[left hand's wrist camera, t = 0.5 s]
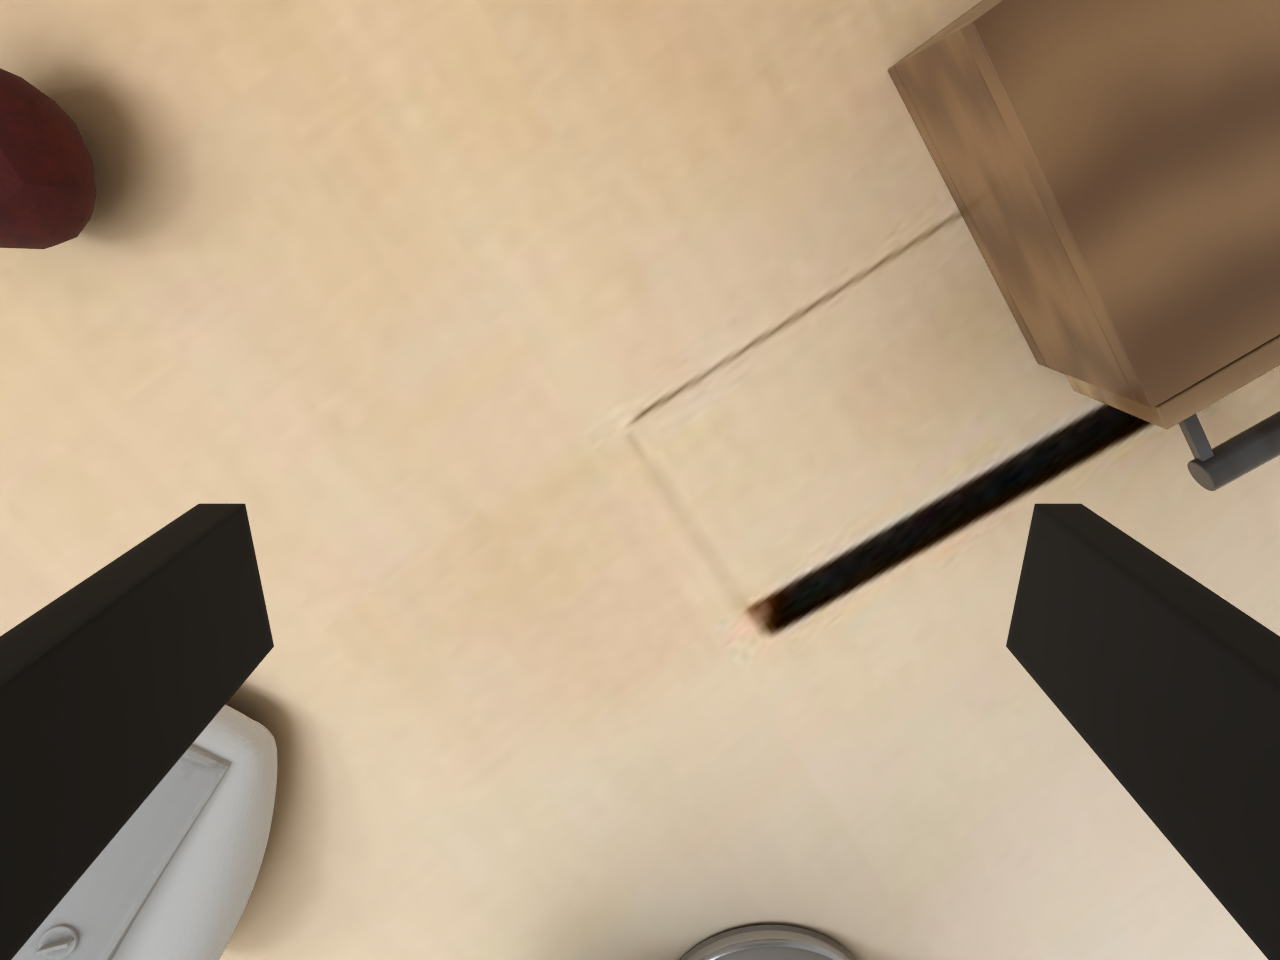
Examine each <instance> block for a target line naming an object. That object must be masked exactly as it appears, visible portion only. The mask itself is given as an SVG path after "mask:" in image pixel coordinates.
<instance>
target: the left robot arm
mask: <svg viewBox="0 0 1280 960" xmlns="http://www.w3.org/2000/svg"><path fill="white" fill-rule="evenodd" d="M273 647H274V645H273V640H272V635H271V630H270V625H269V620H268V615H267V610H266V605H265V600H264V595H263V590H262V585H261V580H260V575H259V570H258V565H257V560H256V556H255V551H254V546H253V541H252V536H251V531H250V526H249V521H248V516H247V511H246V506H245V504H198V505H196V506H195V507H193V508H192V509H190V510H189V511H187V512H186V513H184V514H183V515H181V516H180V517H178V518H177V519H175V520H174V521H172V522H171V523H169V524H168V525H166V526H165V527H163V528H162V529H161V530H159V531H158V532H156V533H155V534H153V535H152V536H150V537H149V538H147V539H146V540H144V541H143V542H141V543H140V544H138V545H137V546H135V547H134V548H132V549H131V550H129V551H128V552H126V553H125V554H123V555H122V556H120V557H119V558H117V559H116V560H114V561H113V562H111V563H110V564H108V565H107V566H105V567H104V568H102V569H101V570H99V571H98V572H96V573H95V574H93V575H92V576H90V577H89V578H87V579H86V580H84V581H83V582H81V583H80V584H78V585H77V586H75V587H74V588H72V589H71V590H69V591H68V592H66V593H65V594H63V595H62V596H60V597H59V598H57V599H56V600H54V601H53V602H51V603H50V604H48V605H47V606H45V607H44V608H42V609H41V610H39V611H38V612H36V613H35V614H33V615H32V616H30V617H29V618H27V619H26V620H24V621H23V622H21V623H20V624H18V625H17V626H15V627H14V628H12V629H11V630H9V631H8V632H6V633H5V634H3V635H2V636H0V960H12V959H13V957H14V956H15V955H16V954H17V953H18V951H19V950H20V949H21V948H22V947H23V945H24V944H25V943H26V942H27V941H28V939H29V938H30V937H31V936H32V935H33V933H34V932H35V931H36V930H37V929H38V927H39V926H40V925H41V924H42V923H43V921H44V920H45V919H46V918H47V917H48V915H49V914H50V913H51V912H52V911H53V910H54V908H55V907H56V906H57V905H58V904H59V902H60V901H61V900H62V899H63V898H64V896H65V895H66V894H67V893H68V892H69V890H70V889H71V888H72V887H73V886H74V884H75V883H76V882H77V881H78V880H79V878H80V877H81V876H82V875H83V874H84V872H85V871H86V870H87V869H88V868H89V867H90V865H91V864H92V863H93V862H94V861H95V859H96V858H97V857H98V856H99V855H100V853H101V852H102V851H103V850H104V849H105V847H106V846H107V845H108V844H109V843H110V841H111V840H112V839H113V838H114V837H115V835H116V834H117V833H118V832H119V831H120V829H121V828H122V827H123V826H124V825H125V824H126V822H127V821H128V820H129V819H130V818H131V816H132V815H133V814H134V813H135V812H136V810H137V809H138V808H139V807H140V806H141V804H142V803H143V802H144V801H145V800H146V798H147V797H148V796H149V795H150V794H151V792H152V791H153V790H154V789H155V788H156V786H157V785H158V784H159V783H160V782H161V781H162V779H163V778H164V777H165V776H166V775H167V773H168V772H169V771H170V770H171V769H172V767H173V766H174V765H175V764H176V763H177V761H178V760H179V759H180V758H181V757H182V755H183V754H184V753H185V752H186V751H187V749H188V748H189V747H190V746H191V745H192V743H193V742H194V741H195V740H196V739H197V738H198V736H199V735H200V734H201V733H202V732H203V730H204V729H205V728H206V727H207V726H208V724H209V723H210V722H211V721H212V720H213V718H214V717H215V716H216V715H217V714H218V712H219V711H220V710H221V709H222V708H223V706H224V705H225V704H226V703H227V702H228V700H229V699H230V698H231V697H232V696H233V695H234V693H235V692H236V691H237V690H238V689H239V687H240V686H241V685H242V684H243V683H244V681H245V680H246V679H247V678H248V677H249V675H250V674H251V673H252V672H253V671H254V669H255V668H256V667H257V666H258V665H259V663H260V662H261V661H262V660H263V659H264V657H265V656H266V655H267V654H268V653H269V652H270V650H271V649H272V648H273ZM1006 647H1007V648H1008V649H1009V650H1010V652H1011V653H1012V654H1013V655H1014V656H1015V657H1016V659H1017V660H1018V661H1019V662H1020V663H1021V665H1022V666H1023V667H1024V668H1025V669H1026V671H1027V672H1028V673H1029V674H1030V675H1031V677H1032V678H1033V679H1034V680H1035V681H1036V683H1037V684H1038V685H1039V686H1040V687H1041V689H1042V690H1043V691H1044V692H1045V693H1046V695H1047V696H1048V697H1049V698H1050V699H1051V700H1052V702H1053V703H1054V704H1055V705H1056V706H1057V708H1058V709H1059V710H1060V711H1061V712H1062V714H1063V715H1064V716H1065V717H1066V718H1067V720H1068V721H1069V722H1070V723H1071V724H1072V726H1073V727H1074V728H1075V729H1076V730H1077V732H1078V733H1079V734H1080V735H1081V736H1082V738H1083V739H1084V740H1085V741H1086V742H1087V743H1088V745H1089V746H1090V747H1091V748H1092V749H1093V751H1094V752H1095V753H1096V754H1097V755H1098V757H1099V758H1100V759H1101V760H1102V761H1103V763H1104V764H1105V765H1106V766H1107V767H1108V769H1109V770H1110V771H1111V772H1112V773H1113V775H1114V776H1115V777H1116V778H1117V779H1118V781H1119V782H1120V783H1121V784H1122V785H1123V786H1124V788H1125V789H1126V790H1127V791H1128V792H1129V794H1130V795H1131V796H1132V797H1133V798H1134V800H1135V801H1136V802H1137V803H1138V804H1139V806H1140V807H1141V808H1142V809H1143V810H1144V812H1145V813H1146V814H1147V815H1148V816H1149V818H1150V819H1151V820H1152V821H1153V822H1154V824H1155V825H1156V826H1157V827H1158V828H1159V829H1160V831H1161V832H1162V833H1163V834H1164V835H1165V837H1166V838H1167V839H1168V840H1169V841H1170V843H1171V844H1172V845H1173V846H1174V847H1175V849H1176V850H1177V851H1178V852H1179V853H1180V855H1181V856H1182V857H1183V858H1184V859H1185V861H1186V862H1187V863H1188V864H1189V865H1190V867H1191V868H1192V869H1193V870H1194V871H1195V872H1196V874H1197V875H1198V876H1199V877H1200V878H1201V880H1202V881H1203V882H1204V883H1205V884H1206V886H1207V887H1208V888H1209V889H1210V890H1211V892H1212V893H1213V894H1214V895H1215V896H1216V898H1217V899H1218V900H1219V901H1220V902H1221V904H1222V905H1223V906H1224V907H1225V908H1226V910H1227V911H1228V912H1229V913H1230V914H1231V915H1232V917H1233V918H1234V919H1235V920H1236V921H1237V923H1238V924H1239V925H1240V926H1241V927H1242V929H1243V930H1244V931H1245V932H1246V933H1247V935H1248V936H1249V937H1250V938H1251V939H1252V941H1253V942H1254V943H1255V944H1256V945H1257V947H1258V948H1259V949H1260V950H1261V951H1262V953H1263V954H1264V955H1265V956H1266V957H1267V959H1268V960H1280V636H1278V635H1277V634H1275V633H1274V632H1272V631H1271V630H1269V629H1268V628H1266V627H1265V626H1263V625H1262V624H1260V623H1259V622H1257V621H1256V620H1254V619H1253V618H1251V617H1250V616H1248V615H1247V614H1245V613H1244V612H1242V611H1241V610H1239V609H1238V608H1236V607H1235V606H1233V605H1232V604H1230V603H1229V602H1227V601H1226V600H1224V599H1223V598H1221V597H1220V596H1218V595H1217V594H1215V593H1214V592H1212V591H1211V590H1209V589H1208V588H1206V587H1205V586H1203V585H1202V584H1200V583H1199V582H1197V581H1196V580H1194V579H1193V578H1191V577H1190V576H1188V575H1187V574H1185V573H1184V572H1182V571H1181V570H1179V569H1178V568H1176V567H1175V566H1173V565H1172V564H1170V563H1169V562H1167V561H1166V560H1164V559H1163V558H1161V557H1160V556H1158V555H1157V554H1155V553H1154V552H1152V551H1151V550H1149V549H1148V548H1146V547H1145V546H1143V545H1142V544H1140V543H1139V542H1137V541H1136V540H1134V539H1133V538H1131V537H1130V536H1128V535H1127V534H1125V533H1124V532H1122V531H1121V530H1119V529H1118V528H1117V527H1115V526H1114V525H1112V524H1111V523H1109V522H1108V521H1106V520H1105V519H1103V518H1102V517H1100V516H1099V515H1097V514H1096V513H1094V512H1093V511H1091V510H1090V509H1088V508H1087V507H1085V506H1084V505H1082V504H1035V506H1034V511H1033V516H1032V521H1031V526H1030V531H1029V536H1028V541H1027V546H1026V551H1025V556H1024V560H1023V565H1022V570H1021V575H1020V580H1019V585H1018V590H1017V595H1016V600H1015V605H1014V610H1013V615H1012V620H1011V625H1010V630H1009V635H1008V640H1007V645H1006ZM680 960H855V958H854V957H853V956H852V955H851V954H850V953H849V952H848V951H847V950H846V949H845V948H843V947H842V946H841V945H840V944H838V943H837V942H835V941H833V940H832V939H830V938H828V937H826V936H824V935H821V934H819V933H816V932H813V931H810V930H807V929H803V928H798V927H793V926H786V925H755V926H748V927H742V928H738V929H733V930H730V931H727V932H724V933H721V934H718V935H716V936H713V937H711V938H709V939H707V940H705V941H704V942H702V943H700V944H698V945H697V946H695V947H694V948H693V949H691V950H690V951H689V952H688V953H686V954H685V955H684V956H683V957H682V958H681V959H680Z"/></svg>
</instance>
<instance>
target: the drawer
mask: <svg viewBox="0 0 1280 960" xmlns="http://www.w3.org/2000/svg"><path fill="white" fill-rule="evenodd" d="M1279 365H1280V334H1279V335H1278V336H1276V337H1274V338H1272V339H1271V340H1269V341H1267V342H1265V343H1264V344H1262V345H1260V346H1259V347H1257V348H1255V349H1253V350H1252V351H1250V352H1248V353H1247V354H1245V355H1243V356H1241V357H1240V358H1238V359H1236V360H1234V361H1233V362H1231V363H1229V364H1228V365H1226V366H1224V367H1222V368H1221V369H1219V370H1217V371H1216V372H1214V373H1212V374H1210V375H1209V376H1207V377H1205V378H1203V379H1202V380H1200V381H1198V382H1197V383H1195V384H1193V385H1191V386H1190V387H1188V388H1186V389H1185V390H1183V391H1181V392H1179V393H1178V394H1176V395H1174V396H1172V397H1171V398H1169V399H1167V400H1166V401H1164V402H1162V403H1160V404H1159V405H1157V406H1155V407H1154V408H1150V407H1148V406H1145V405H1143V404H1140V403H1138V402H1135V401H1133V400H1130V399H1127V398H1125V397H1122V396H1120V395H1117V394H1115V393H1112V392H1110V391H1107V390H1104V389H1102V388H1099V387H1097V386H1094V385H1092V384H1089V383H1086V382H1084V381H1081V380H1079V379H1076V378H1074V377H1071V376H1068V375H1066V376H1067V378H1068V379H1069V381H1070V383H1071V385H1072V387H1073V389H1074V391H1076V392H1079V393H1081V394H1083V395H1086V396H1088V397H1091V398H1093V399H1095V400H1098V401H1100V402H1102V403H1105V404H1107V405H1110V406H1112V407H1114V408H1117V409H1119V410H1122V411H1124V412H1126V413H1129V414H1131V415H1134V416H1136V417H1138V418H1141V419H1143V420H1145V421H1148V422H1150V423H1153V424H1155V425H1157V426H1160V427H1162V428H1165V429H1169V428H1171V427H1172V426H1174V425H1176V424H1178V423H1179V425H1180V427H1181V429H1182V431H1183V434H1184V436H1185V438H1186V440H1187V442H1188V445H1189V447H1190V449H1191V451H1192V453H1193V455H1194V458H1195V459H1193V460H1191V461H1190V462H1189V463H1188V469H1189V471H1190V473H1191V475H1192V476H1193V478H1194V479H1195V480H1196V481H1197V482H1198V483H1199V484H1200V485H1201V486H1202V487H1204V488H1205V489H1207V490H1210V491H1215V490H1217V489H1219V488H1220V487H1222V486H1224V485H1226V484H1228V483H1230V482H1231V481H1233V480H1235V479H1237V478H1239V477H1240V476H1242V475H1244V474H1246V473H1248V472H1250V471H1251V470H1253V469H1255V468H1257V467H1259V466H1261V465H1262V464H1264V463H1266V462H1268V461H1270V460H1272V459H1273V458H1275V457H1277V456H1279V455H1280V411H1279V412H1277V413H1275V414H1274V415H1272V416H1270V417H1268V418H1266V419H1265V420H1263V421H1261V422H1259V423H1258V424H1256V425H1254V426H1252V427H1250V428H1249V429H1247V430H1245V431H1243V432H1241V433H1240V434H1238V435H1236V436H1234V437H1233V438H1231V439H1229V440H1227V441H1225V442H1224V443H1222V444H1220V445H1218V446H1216V447H1215V448H1213V449H1211V447H1210V444H1209V442H1208V440H1207V438H1206V435H1205V433H1204V431H1203V429H1202V427H1201V424H1200V422H1199V420H1198V418H1197V415H1196V413H1197V412H1199V411H1200V410H1202V409H1204V408H1206V407H1207V406H1209V405H1211V404H1213V403H1214V402H1216V401H1218V400H1220V399H1221V398H1223V397H1225V396H1227V395H1228V394H1230V393H1232V392H1234V391H1235V390H1237V389H1239V388H1241V387H1242V386H1244V385H1246V384H1248V383H1249V382H1251V381H1253V380H1255V379H1256V378H1258V377H1260V376H1261V375H1263V374H1265V373H1267V372H1268V371H1270V370H1272V369H1274V368H1275V367H1277V366H1279Z"/></svg>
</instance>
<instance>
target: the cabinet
mask: <svg viewBox="0 0 1280 960" xmlns="http://www.w3.org/2000/svg"><path fill="white" fill-rule="evenodd" d="M888 72H889V74H890V76H891V78H892V80H893V82H894V84H895V86H896V88H897V90H898V92H899V93H900V95H901V97H902V99H903V101H904V103H905V105H906V107H907V109H908V111H909V113H910V115H911V117H912V119H913V121H914V123H915V125H916V127H917V129H918V131H919V132H920V134H921V136H922V138H923V140H924V142H925V144H926V146H927V148H928V150H929V152H930V154H931V156H932V158H933V160H934V162H935V164H936V166H937V168H938V169H939V171H940V173H941V175H942V177H943V179H944V181H945V183H946V185H947V187H948V189H949V191H950V193H951V195H952V197H953V199H954V201H955V203H956V205H957V207H958V208H959V210H960V212H961V214H962V216H963V218H964V220H965V222H966V224H967V226H968V228H969V230H970V232H971V234H972V236H973V238H974V240H975V242H976V244H977V246H978V247H979V249H980V251H981V253H982V255H983V257H984V259H985V261H986V263H987V265H988V267H989V269H990V271H991V273H992V275H993V277H994V279H995V281H996V283H997V284H998V286H999V288H1000V290H1001V292H1002V294H1003V296H1004V298H1005V300H1006V302H1007V304H1008V306H1009V308H1010V310H1011V312H1012V314H1013V316H1014V318H1015V320H1016V322H1017V323H1018V325H1019V327H1020V329H1021V331H1022V333H1023V335H1024V337H1025V339H1026V341H1027V343H1028V345H1029V347H1030V349H1031V351H1032V353H1033V355H1034V357H1035V359H1036V361H1037V362H1038V364H1040V365H1043V366H1045V367H1048V368H1050V369H1053V370H1056V371H1058V372H1061V373H1063V374H1066V375H1068V376H1071V377H1074V378H1076V379H1079V380H1081V381H1084V382H1086V383H1089V384H1092V385H1094V386H1097V387H1099V388H1102V389H1104V390H1107V391H1110V392H1112V393H1115V394H1117V395H1120V396H1122V397H1125V398H1127V399H1130V400H1133V401H1135V402H1138V403H1140V404H1143V405H1145V406H1148V407H1150V408H1154V407H1155V406H1157V405H1159V404H1160V403H1162V402H1164V401H1166V400H1167V399H1169V398H1171V397H1172V396H1174V395H1176V394H1178V393H1179V392H1181V391H1183V390H1185V389H1186V388H1188V387H1190V386H1191V385H1193V384H1195V383H1197V382H1198V381H1200V380H1202V379H1203V378H1205V377H1207V376H1209V375H1210V374H1212V373H1214V372H1216V371H1217V370H1219V369H1221V368H1222V367H1224V366H1226V365H1228V364H1229V363H1231V362H1233V361H1234V360H1236V359H1238V358H1240V357H1241V356H1243V355H1245V354H1247V353H1248V352H1250V351H1252V350H1253V349H1255V348H1257V347H1259V346H1260V345H1262V344H1264V343H1265V342H1267V341H1269V340H1271V339H1272V338H1274V337H1276V336H1278V335H1279V334H1280V0H982V1H981V2H980V3H978V4H977V5H975V6H974V7H973V8H971V9H970V10H969V11H967V12H966V13H964V14H963V15H962V16H960V17H959V18H958V19H956V20H955V21H954V22H952V23H951V24H949V25H948V26H947V27H945V28H944V29H943V30H941V31H940V32H938V33H937V34H936V35H934V36H933V37H932V38H930V39H929V40H928V41H926V42H925V43H923V44H922V45H921V46H919V47H918V48H917V49H915V50H914V51H912V52H911V53H910V54H908V55H907V56H906V57H904V58H903V59H902V60H900V61H899V62H897V63H896V64H895V65H893V66H892V67H891V68H889V69H888Z"/></svg>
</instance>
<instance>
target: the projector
mask: <svg viewBox="0 0 1280 960" xmlns="http://www.w3.org/2000/svg"><path fill="white" fill-rule="evenodd" d="M276 786H277V747H276V742H275V739H274V737H273V735H272V734H271V732H270V731H269V730H268V729H267V728H266V727H264V726H263V725H262V724H260V723H259V722H256V721H254V720H252V719H251V718H249V717H247V716H246V715H244V714H242V713H240V712H238V711H237V710H235V709H233V708H231V707H229V706H227V705H224V706H223V708H222V709H221V710H220V711H219V712H218V714H217V715H216V716H215V717H214V718H213V720H212V721H211V722H210V723H209V724H208V726H207V727H206V728H205V729H204V730H203V732H202V733H201V734H200V735H199V736H198V738H197V739H196V740H195V741H194V742H193V743H192V745H191V746H190V747H189V748H188V749H187V751H186V752H185V753H184V754H183V755H182V757H181V758H180V759H179V760H178V761H177V763H176V764H175V765H174V766H173V767H172V769H171V770H170V771H169V772H168V773H167V775H166V776H165V777H164V778H163V779H162V781H161V782H160V783H159V784H158V785H157V786H156V788H155V789H154V790H153V791H152V792H151V794H150V795H149V796H148V797H147V798H146V800H145V801H144V802H143V803H142V804H141V806H140V807H139V808H138V809H137V810H136V812H135V813H134V814H133V815H132V816H131V818H130V819H129V820H128V821H127V822H126V824H125V825H124V826H123V827H122V828H121V829H120V831H119V832H118V833H117V834H116V835H115V837H114V838H113V839H112V840H111V841H110V843H109V844H108V845H107V846H106V847H105V849H104V850H103V851H102V852H101V853H100V855H99V856H98V857H97V858H96V859H95V861H94V862H93V863H92V864H91V865H90V867H89V868H88V869H87V870H86V871H85V872H84V874H83V875H82V876H81V877H80V878H79V880H78V881H77V882H76V883H75V884H74V886H73V887H72V888H71V889H70V890H69V892H68V893H67V894H66V895H65V896H64V898H63V899H62V900H61V901H60V902H59V904H58V905H57V906H56V907H55V908H54V910H53V911H52V912H51V913H50V914H49V915H48V917H47V918H46V919H45V920H44V921H43V923H42V924H41V925H40V926H39V927H38V929H37V930H36V931H35V932H34V933H33V935H32V936H31V937H30V938H29V939H28V941H27V942H26V943H25V944H24V945H23V947H22V948H21V949H20V950H19V951H18V953H17V954H16V955H15V956H14V957H13V959H12V960H219V959H220V957H221V956H222V954H223V952H224V950H225V948H226V946H227V944H228V943H229V941H230V939H231V937H232V935H233V933H234V931H235V929H236V927H237V925H238V923H239V921H240V918H241V916H242V914H243V912H244V910H245V907H246V905H247V902H248V900H249V898H250V895H251V893H252V890H253V888H254V885H255V882H256V879H257V876H258V873H259V870H260V867H261V864H262V861H263V857H264V854H265V850H266V846H267V842H268V837H269V833H270V828H271V823H272V816H273V810H274V803H275V795H276Z"/></svg>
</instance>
